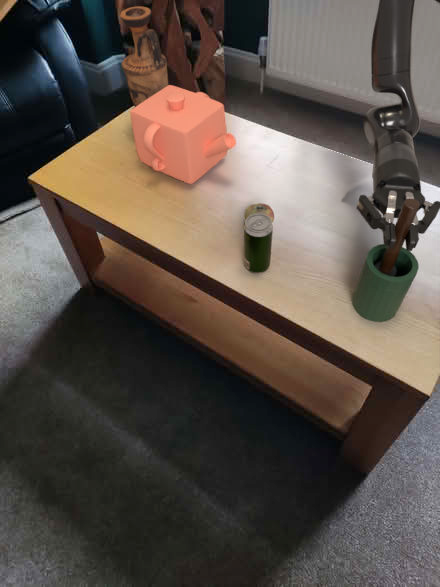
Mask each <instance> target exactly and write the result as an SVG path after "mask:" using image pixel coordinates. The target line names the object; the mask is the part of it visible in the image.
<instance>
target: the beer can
mask: <svg viewBox="0 0 440 587" xmlns="http://www.w3.org/2000/svg"><path fill="white" fill-rule="evenodd" d="M273 230H274V225H273V223H272V221H271V219H270V217H268V216H267V215H265V214H259V213H257V214H253V215H250V216H249V217H248V218H247V219H246V220H245V223H244V226H243V266H244V267H245V269H246V270H247V271H248V272H249V273H251V274H254V275H259V274H260V275H261V274H263V273H265V272H267V270H269V268H270V266H271V256H272V244H273V243H272V242H273Z"/></svg>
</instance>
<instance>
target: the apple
mask: <svg viewBox="0 0 440 587" xmlns="http://www.w3.org/2000/svg"><path fill="white" fill-rule="evenodd" d="M257 213H259V214H265V215H267V216H268V217H270V219H271V221H272V224H273V222H274V221H275V213H274V210H273V208H272V207H271V206H270V205H269V204H266V203H261V202H259V203H253V204H251V205H249V206H248V207H246V209H245V210H244V213H243V217H244V218H243V219H244V221H246V219H247V218H248V217H249V216H250V215H253V214H257Z"/></svg>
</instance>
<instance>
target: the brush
mask: <svg viewBox="0 0 440 587" xmlns="http://www.w3.org/2000/svg"><path fill="white" fill-rule="evenodd" d="M419 206H420V203H419V202H418V201H417V200H415V199H406V200H405V201H404V203H403V206H402V209H401V211H400V214H399V217H398V218H396V219H397V220H396V222H395V223H394V224H395V232H396V242H395V245H394V247H393V249H388V247H387V248H386V251H385V253H384V256H383V258H382V261H381V262H378V263H376V264H375V268H376V269H377V270H378V271H379V272H381V273H383V274H385V275H388V276H392V277H395V275H396V273H397V270H396V267H395V266H394V265H395V263H396V260H397V258H398V256H399V253H400V251H401V248H402V247H404V246H403V245H404V244H405V242H406V241H405V239H406V237H407V234H408V232H409V230H410V227H411V225H412V223H413V220H414V218H415V215H416V213H417V214H418V212H419V211H418V208H419ZM417 211H418V212H417Z"/></svg>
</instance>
